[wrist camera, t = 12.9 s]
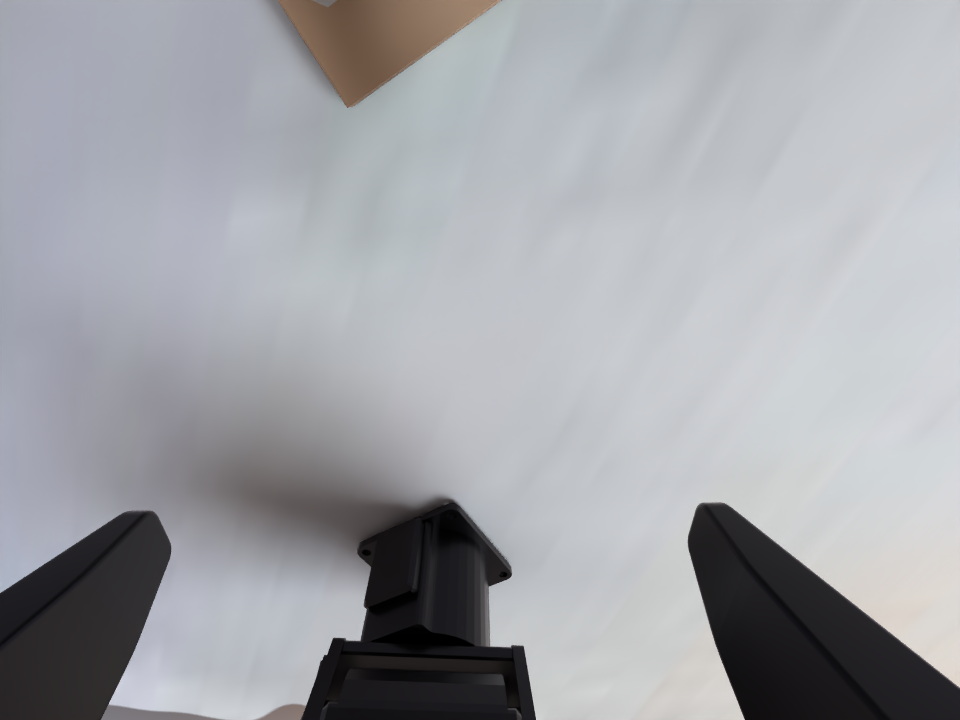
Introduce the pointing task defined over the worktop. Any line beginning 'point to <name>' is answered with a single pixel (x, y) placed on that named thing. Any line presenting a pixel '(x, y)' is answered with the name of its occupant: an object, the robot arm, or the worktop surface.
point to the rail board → (376, 36)
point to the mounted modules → (325, 2)
